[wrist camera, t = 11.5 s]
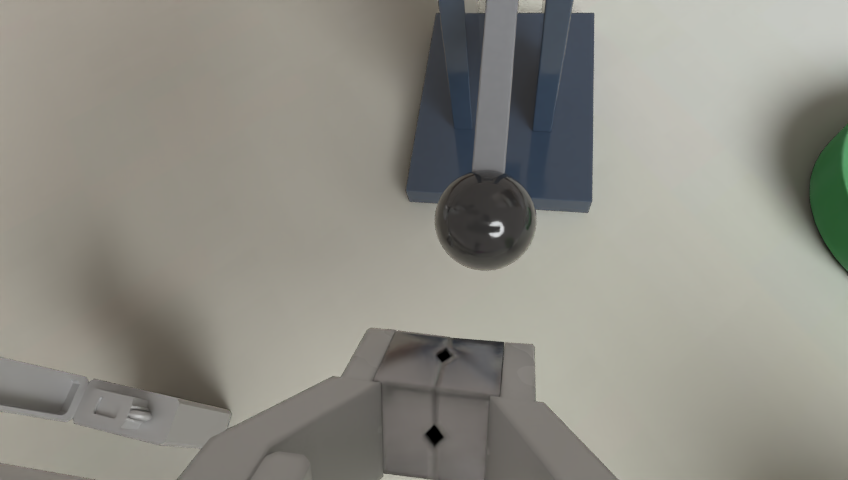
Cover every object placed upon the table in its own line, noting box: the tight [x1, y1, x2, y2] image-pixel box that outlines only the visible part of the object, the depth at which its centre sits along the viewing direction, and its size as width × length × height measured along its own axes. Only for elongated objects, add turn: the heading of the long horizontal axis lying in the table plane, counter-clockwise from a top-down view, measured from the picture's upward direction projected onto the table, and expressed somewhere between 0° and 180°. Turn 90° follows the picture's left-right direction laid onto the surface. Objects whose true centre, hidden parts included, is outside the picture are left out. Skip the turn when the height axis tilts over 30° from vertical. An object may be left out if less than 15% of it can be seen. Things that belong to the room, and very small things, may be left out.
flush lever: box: [435, 0, 536, 271], centre depth 18 cm, size 14×3×3 cm, turn 172°
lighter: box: [0, 357, 232, 449], centre depth 21 cm, size 7×2×8 cm, turn 78°
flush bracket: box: [406, 0, 594, 213], centre depth 23 cm, size 12×9×13 cm
